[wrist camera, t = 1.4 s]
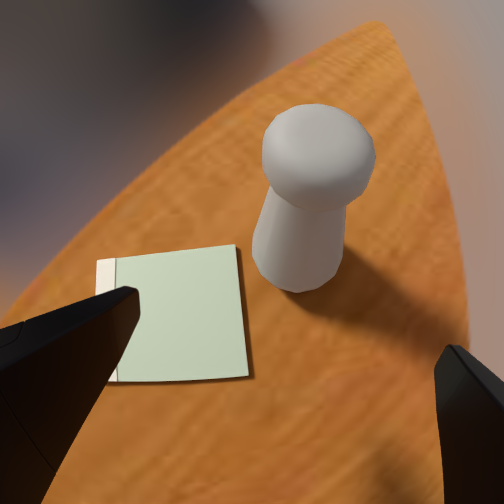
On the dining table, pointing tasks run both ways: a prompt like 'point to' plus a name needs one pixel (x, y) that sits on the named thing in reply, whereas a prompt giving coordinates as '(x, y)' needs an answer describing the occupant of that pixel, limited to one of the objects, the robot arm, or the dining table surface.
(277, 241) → the salt shaker
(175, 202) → the dining table surface
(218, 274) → the pad
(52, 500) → the dining table surface
